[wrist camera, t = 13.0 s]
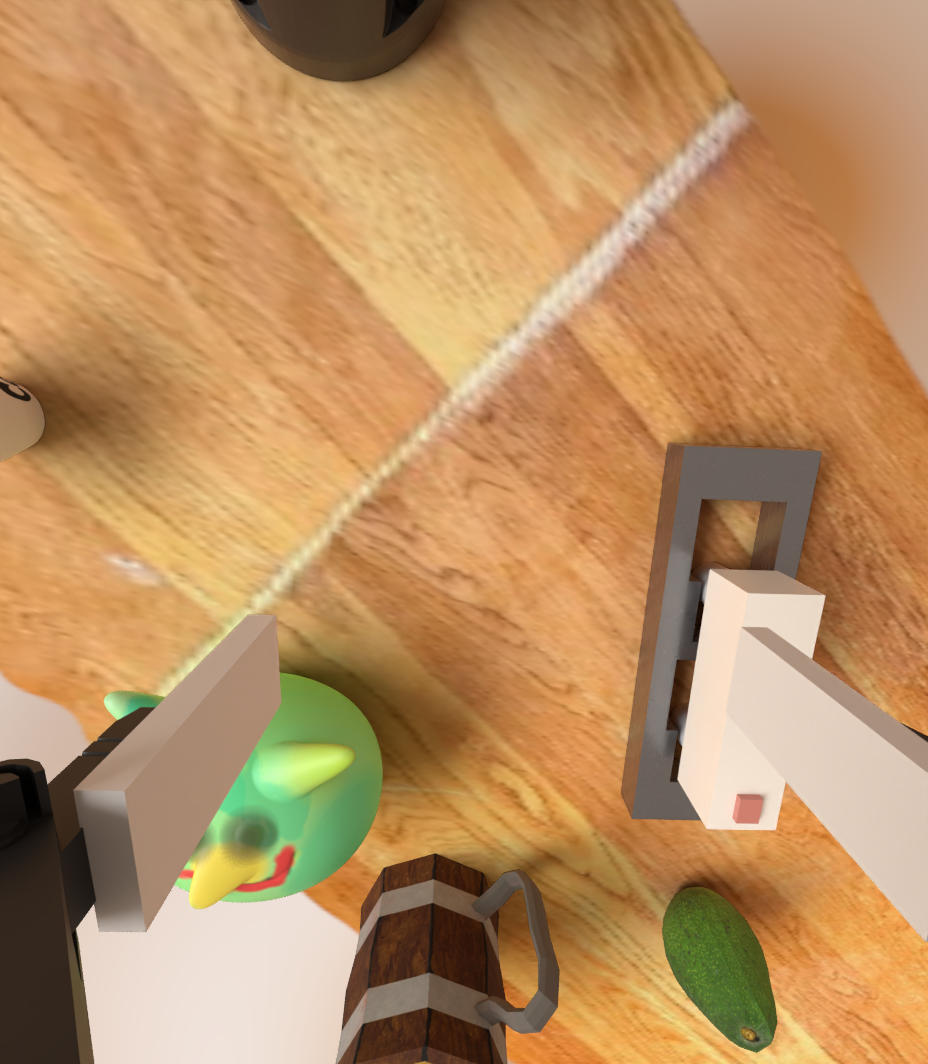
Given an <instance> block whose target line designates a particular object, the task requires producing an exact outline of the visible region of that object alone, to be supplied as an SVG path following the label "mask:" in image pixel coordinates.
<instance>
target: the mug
mask: <svg viewBox="0 0 928 1064" xmlns="http://www.w3.org/2000/svg"><path fill="white" fill-rule="evenodd" d="M519 889H523V890H524V896H525V902H526V908H527V915H528V921H529V928H530V933H531V936H532V940H533V943H534V947H535V950H536V954H537V957H538V991H537V993H536V994H535V996H534V997H533V998H532V1000H531V1001H530V1002H529V1004H528V1005H527V1007H526V1008H515V1007H513V1006H512V1005H511V1004H510V1003H509V1002H508V1001H506V999H505V993H504V987H503V981H502V975H501V969H500V963H499V950H498V918H499V913H498V909H499V908H500V907H501V906H502V905H503V904H504V903H505V902H506V901H507V900H508V899H509V898H510V896H511V895H512V894H513V893H514V892H515V891H516V890H519ZM558 990H559V967H558V964H557V960H556V957H555V953H554V949H553V946H552V942H551V939H550V935H549V929H548V924H547V919H546V913H545V909H544V905H543V901H542V897H541V893H540V891H539V889H538V888H537V886H536V885H535V883H534V882H533V881H532V880H531V879H530V877H529V876H528V875H527V874H526V873H525V872H524V871H522V870H520V869H519V870H514V871H509V872H505V873H504V874H503V875H502V876H501V877H500V878H499V879H498V880H497V881H496V882H495V883H494V884H493V885H492V886H491V887H490V888H489V887H488V884H487V882H486V879H485V877H484V874H483V873H482V872H479V871H477V870H474V869H472V868H469V867H467V866H464V865H462V864H460V863H457V862H455V861H452V860H450V859H447V858H445V857H442V856H440V855H437V854H432V855H428V856H425V857H421V858H417V859H414V860H410V861H406V862H403V863H399V864H395V865H392V866H388V867H385V868H384V869H383V870H382V872H381V874H380V875H379V877H378V879H377V881H376V882H375V884H374V886H373V887H372V889H371V891H370V893H369V894H368V896H367V898H366V899H365V901H364V903H363V905H362V908H361V924H360V934H359V939H358V945H357V950H356V955H355V960H354V963H353V967H352V971H351V975H350V978H349V982H348V986H347V989H346V996H345V1005H344V1014H343V1025H342V1032H341V1038H340V1043H339V1049H338V1054H337V1059H336V1064H507V1052H506V1024H507V1025H508V1026H509V1027H510V1028H512V1029H513V1030H514V1031H517V1032H519V1033H521V1034H523V1033H537V1032H540V1031H541V1030H542V1029H543V1027H544V1026H545V1024H546V1023H547V1022H548V1020H549V1019H550V1017H551V1016H552V1015H553V1013H554V1012H555V1010H556V1009H557V1008H558Z"/></svg>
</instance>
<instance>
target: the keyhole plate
mask: <svg viewBox="0 0 928 1064" xmlns="http://www.w3.org/2000/svg"><path fill="white" fill-rule="evenodd" d="M821 454H822V451H815V450H807V449H799V448H781V447H757V446H732V445H707V444H682V443H668V446H667V454H666V461H665V469H664V476H663V483H662V491H661V498H660V506H659V513H658V521H657V528H656V536H655V543H654V550H653V558H652V565H651V573H650V580H649V588H648V595H647V603H646V610H645V617H644V625H643V632H642V640H641V647H640V655H639V662H638V670H637V677H636V684H635V692H634V699H633V707H632V714H631V722H630V729H629V736H628V744H627V751H626V759H625V766H624V774H623V781H622V789H621V795H622V797H623V799H624V802H625V804H626V806H627V809H628V811H629V813H630V816H631V818H632V819H664V820H701V818H700V817H699V815H698V813H697V812H696V810H695V808H694V807H693V805H692V803H691V802H690V800H689V798H688V797H687V795H686V793H685V791H684V790H683V788H682V786H681V785H680V783H679V781H678V780H677V779H678V773H679V766H680V760H681V759H673V758H674V752H675V746H676V740H677V733H678V730H677V728H676V727H675V726H674V724H673V723H672V721H671V720H670V718H669V717H668V714H669V707H670V701H671V695H672V688H673V682H674V675H675V669H676V662H677V660H696V656H697V650H698V643H699V637H700V630H701V627H696V626H695V621H696V615H697V609H698V603H699V596H700V590H701V584H702V582H701V581H700V580H699V579H697V578H696V577H694V576H693V575H692V574H690V571H691V565H692V558H693V552H694V545H695V539H696V532H697V526H698V519H699V513H700V506H701V500H702V499H716V500H743V501H762V506H761V511H760V517H759V522H758V528H757V533H756V539H755V544H754V550H753V555H752V561H751V566H750V570H767V571H779V572H781V573H783V574H785V575H787V576H789V577H791V578H793V579H796V575H797V570H798V565H799V560H800V555H801V550H802V546H803V541H804V536H805V531H806V526H807V521H808V516H809V512H810V507H811V502H812V497H813V492H814V487H815V483H816V478H817V473H818V468H819V463H820V458H821Z"/></svg>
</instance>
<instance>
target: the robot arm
mask: <svg viewBox="0 0 928 1064" xmlns="http://www.w3.org/2000/svg"><path fill="white" fill-rule="evenodd" d="M231 2H232V4H233V6H234V7H235V9H236V11H237V13H238V14H239V16H240V18H241V19H242V21H243V22H244V24H245V25H246V26H247V28H248V29H249V30H250V32H251V33H252V34H253V35H254V36H255V38H256V39H257V40H258V41H259V42H260V43H261V44H262V45H263V46H264V47H265V48H266V49H267V50H268V51H270V52H271V53H272V54H273V55H274V56H276V57H277V58H278V59H280V60H281V61H283V62H284V63H286V64H287V65H289V66H291V67H293V68H294V69H296V70H299V71H301V72H303V73H306V74H308V75H311V76H314V77H318V78H322V79H328V80H336V81H349V80H358V79H364V78H368V77H372V76H374V75H377V74H380V73H382V72H384V71H387V70H389V69H390V68H392V67H394V66H396V65H397V64H398V63H400V62H401V61H403V60H404V59H405V58H407V57H408V56H409V55H410V54H411V53H412V52H413V51H414V50H415V49H416V48H417V47H418V46H419V45H420V44H421V43H422V42H423V41H424V39H425V38H426V37H427V35H428V34H429V33H430V31H431V30H432V28H433V27H434V25H435V23H436V21H437V20H438V18H439V16H440V14H441V12H442V10H443V7H444V5H445V2H446V0H231ZM280 704H281V688H280V672H279V656H278V640H277V624H276V615H247V616H246V617H245V618H244V619H243V620H242V621H241V622H240V623H239V624H238V625H237V626H236V627H235V628H234V629H233V630H232V631H231V632H230V633H229V634H228V635H227V636H226V637H225V638H224V639H223V640H222V641H221V642H220V643H219V644H218V645H217V646H216V647H215V648H214V649H213V650H212V651H211V652H210V653H209V654H208V655H207V656H206V657H205V659H204V660H203V661H202V662H201V663H200V664H199V665H198V666H197V667H196V668H195V669H194V670H193V671H192V672H191V673H190V674H189V675H188V676H187V677H186V678H185V679H184V680H183V681H182V682H181V683H180V684H179V685H178V686H177V687H176V688H175V689H174V690H173V691H172V692H171V693H170V694H169V695H168V696H167V697H166V698H165V699H164V700H163V701H162V702H161V703H160V704H159V705H158V706H157V707H140V708H138V709H137V710H135V711H133V712H131V713H130V714H128V715H126V716H124V717H122V718H121V719H119V720H117V721H116V722H115V723H113V724H112V725H111V726H110V727H109V728H108V729H107V730H106V731H105V732H104V733H103V734H102V735H101V736H99V737H98V740H97V741H94V742H93V743H92V744H91V745H90V746H89V747H88V748H86V749H85V751H83V754H82V756H78V757H77V758H76V759H75V760H74V761H72V763H70V765H68V766H67V767H66V768H65V769H64V770H63V771H62V772H61V773H60V774H58V775H57V776H56V777H55V778H54V779H53V780H52V781H51V782H50V783H49V784H48V785H47V780H46V775H45V770H44V768H43V767H42V765H41V764H40V762H37V761H34V760H30V759H14V760H13V759H11V760H5V761H1V762H0V1064H94V1058H93V1050H92V1042H91V1034H90V1026H89V1019H88V1011H87V1004H86V995H85V987H84V980H83V972H82V964H81V957H80V949H79V942H78V937H77V932H76V928H77V926H78V925H79V924H80V922H81V921H82V920H83V918H84V917H85V915H86V914H87V913H88V911H89V910H90V908H91V907H92V906H93V904H94V906H95V912H96V917H97V922H98V927H99V931H100V932H102V931H103V932H147V930H148V928H149V926H150V925H151V923H152V921H153V920H154V918H155V916H156V915H157V913H158V911H159V909H160V908H161V906H162V904H163V903H164V901H165V899H166V898H167V896H168V894H169V893H170V891H171V889H172V887H173V886H174V884H175V882H176V881H177V879H178V877H179V876H180V874H181V872H182V871H183V869H184V867H185V865H186V864H187V862H188V860H189V859H190V857H191V855H192V854H193V852H194V850H195V848H196V847H197V845H198V843H199V842H200V840H201V838H202V837H203V835H204V833H205V832H206V830H207V828H208V826H209V825H210V823H211V821H212V820H213V818H214V816H215V815H216V813H217V811H218V810H219V808H220V806H221V804H222V803H223V801H224V799H225V798H226V796H227V794H228V793H229V791H230V789H231V788H232V786H233V784H234V782H235V781H236V779H237V777H238V776H239V774H240V772H241V771H242V769H243V767H244V765H245V764H246V762H247V760H248V759H249V757H250V755H251V754H252V752H253V750H254V749H255V747H256V745H257V743H258V742H259V740H260V738H261V737H262V735H263V733H264V732H265V730H266V728H267V727H268V725H269V723H270V721H271V720H272V718H273V716H274V715H275V713H276V711H277V710H278V708H279V706H280ZM726 713H727V715H728V716H729V717H730V718H731V719H732V720H733V721H734V723H735V724H736V725H737V726H738V727H739V728H740V730H741V731H742V732H743V733H744V734H745V735H746V736H747V738H748V739H749V740H750V741H751V742H752V743H753V744H754V746H755V747H756V748H757V749H758V750H759V751H760V752H761V754H762V755H763V756H764V757H765V758H766V759H767V761H768V762H769V763H770V764H771V765H772V766H773V767H774V769H775V770H776V771H777V772H778V773H779V774H780V775H781V777H782V778H783V779H784V780H785V781H786V782H787V783H788V785H789V786H790V787H791V788H792V789H793V790H794V792H795V793H796V794H797V795H798V796H799V797H800V798H801V800H802V801H803V802H804V803H805V804H806V805H807V806H808V808H809V809H810V810H811V811H812V812H813V813H814V814H815V816H816V817H817V818H818V819H819V820H820V821H821V823H822V824H823V825H824V826H825V827H826V828H827V829H828V831H829V832H830V833H831V834H832V835H833V836H834V837H835V839H836V840H837V841H838V842H839V843H840V844H841V845H842V847H843V848H844V849H845V850H846V851H847V852H848V854H849V855H850V856H851V857H852V858H853V859H854V860H855V862H856V863H857V864H858V865H859V866H860V867H861V868H862V870H863V871H864V872H865V873H866V874H867V875H868V876H869V878H870V879H871V880H872V881H873V882H874V883H875V885H876V886H877V887H878V888H879V889H880V890H881V891H882V893H883V894H884V895H885V896H886V897H887V898H888V899H889V901H890V902H891V903H892V904H893V905H894V906H895V907H896V909H897V910H898V911H899V912H900V913H901V914H902V916H903V917H904V918H905V919H906V920H907V921H908V922H909V924H910V925H911V926H912V927H913V928H914V929H915V930H916V932H917V933H918V934H919V935H920V936H921V937H922V938H923V940H924V941H925V942H928V736H926V735H924V734H922V733H920V732H918V731H916V730H914V729H912V728H910V727H908V726H906V725H904V724H902V723H900V722H898V721H897V720H896V719H894V718H893V717H891V716H890V715H889V714H887V713H886V712H884V711H883V710H882V709H880V708H879V707H878V706H876V705H875V704H873V703H872V702H871V701H869V700H868V699H866V698H865V697H864V696H862V695H861V694H859V693H858V692H857V691H855V690H854V689H852V688H851V687H850V686H848V685H847V684H846V683H844V682H843V681H841V680H840V679H839V678H837V677H836V676H834V675H833V674H832V673H830V672H829V671H827V670H826V669H825V668H823V667H822V666H820V665H819V664H818V663H816V662H815V661H814V660H812V659H811V658H809V657H808V656H807V655H805V654H804V653H802V652H801V651H800V650H798V649H797V648H795V647H794V646H793V645H791V644H790V643H788V642H787V641H786V640H784V639H783V638H782V637H780V636H779V635H777V634H776V633H775V632H773V631H772V630H770V629H769V628H768V627H741V628H740V634H739V640H738V645H737V651H736V656H735V662H734V668H733V673H732V679H731V684H730V690H729V696H728V701H727V707H726Z"/></svg>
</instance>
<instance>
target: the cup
mask: <svg viewBox="0 0 928 1064" xmlns="http://www.w3.org/2000/svg"><path fill="white" fill-rule="evenodd" d="M44 427H45V418H44V413H43V410H42V407H41V405H40V403H39V402H38V400H37V399H36V398H35V396H34V395H33V394H32V393H31V392H30V391H28V390H27V389H26V388H24V387H23V386H21V385H19V384H16V383H14V382H12V381H9V380H7V379H5V378H2V377H0V462H2V461H5V460H7V459H9V458H11V457H13V456H15V455H16V454H18V453H20V452H22V451H24V450H25V449H27V448H29V447H31V446H32V445H34V444H35V443H36V442H37V441H38V440H39V439H40V438H41V436H42V434H43V431H44Z"/></svg>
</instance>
